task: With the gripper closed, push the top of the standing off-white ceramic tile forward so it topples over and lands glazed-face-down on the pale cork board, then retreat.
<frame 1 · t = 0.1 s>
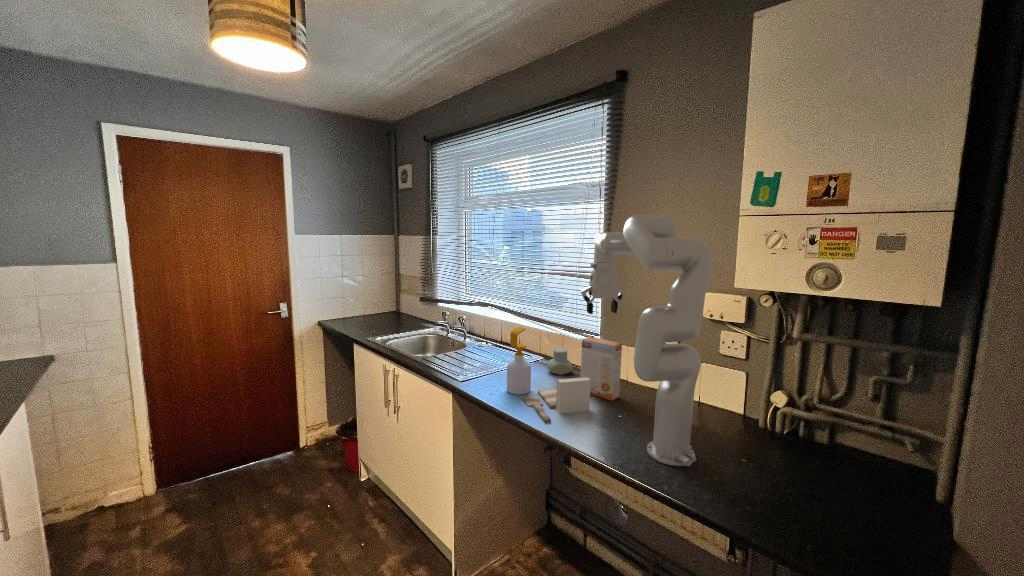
hand: (601, 312, 157), 31 cm above the worktop, fingers open, 9 cm apart
wooden turner: (538, 410, 146), on the worktop
ceramic tile: (572, 410, 146), on the worktop
soap bottle: (518, 391, 163), on the worktop
cracker box: (599, 394, 161), on the worktop
cork board: (562, 398, 156), on the worktop
air freshener: (559, 372, 184), on the worktop
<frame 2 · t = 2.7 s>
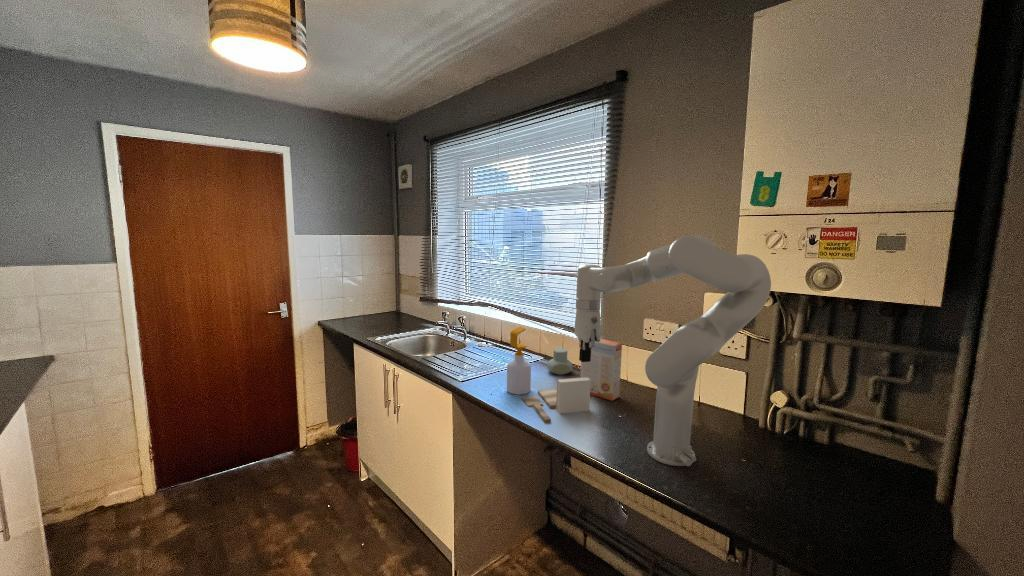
hand: (584, 361, 135), 20 cm above the worktop, fingers closed
nothing on the worktop moved.
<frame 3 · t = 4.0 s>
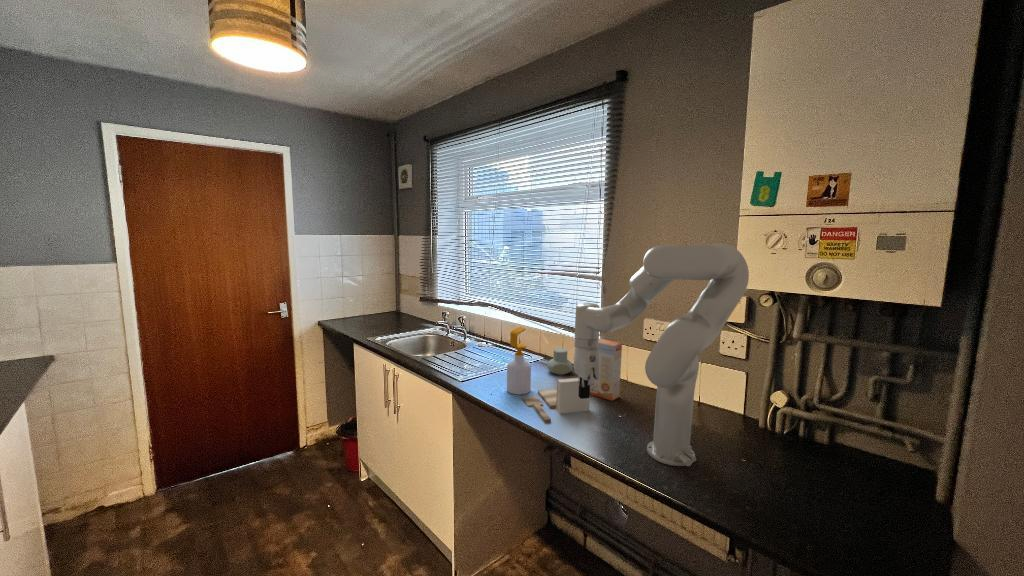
hand: (583, 397, 137), 8 cm above the worktop, fingers closed
nothing on the worktop moved.
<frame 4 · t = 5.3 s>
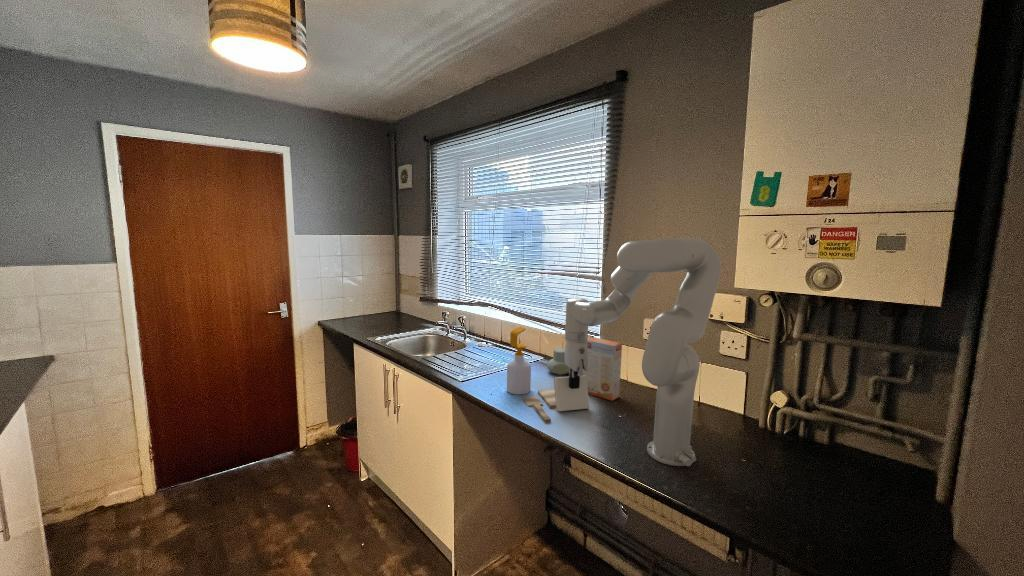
hand: (574, 387, 144), 8 cm above the worktop, fingers closed
ceramic tile: (572, 409, 146), on the worktop, tilted 16°
everything else where it was.
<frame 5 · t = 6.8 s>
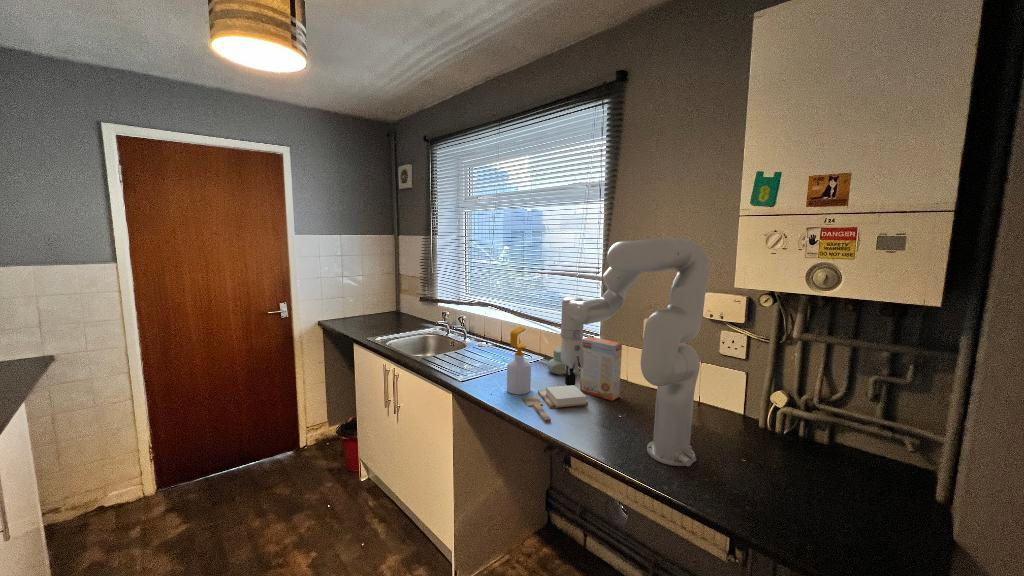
hand: (570, 384, 148), 8 cm above the worktop, fingers closed
ceramic tile: (571, 401, 147), point 2 cm above the worktop, tilted 90°, touching cork board
everything else where it was.
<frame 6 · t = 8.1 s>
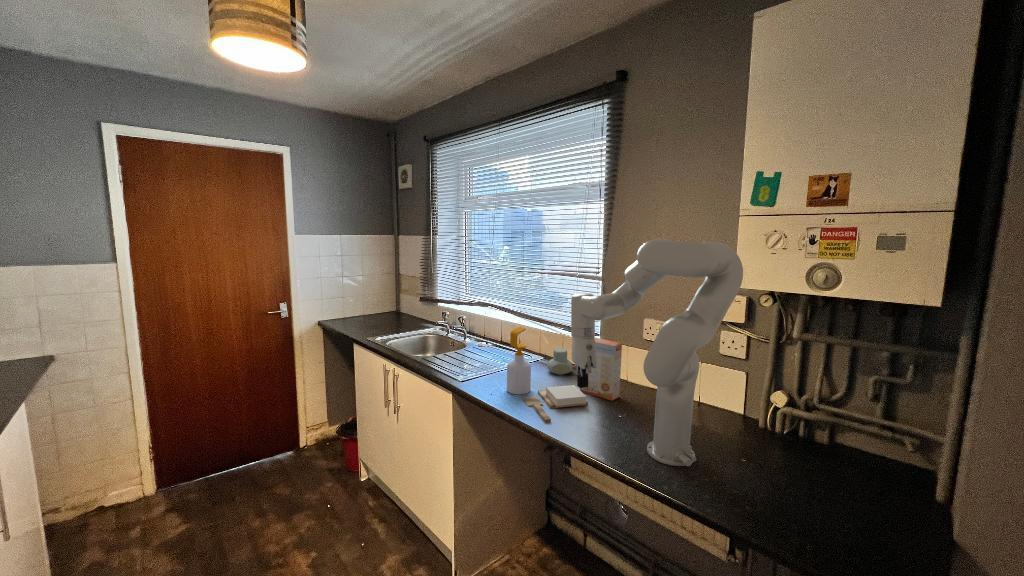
hand: (582, 386, 139), 11 cm above the worktop, fingers closed
nothing on the worktop moved.
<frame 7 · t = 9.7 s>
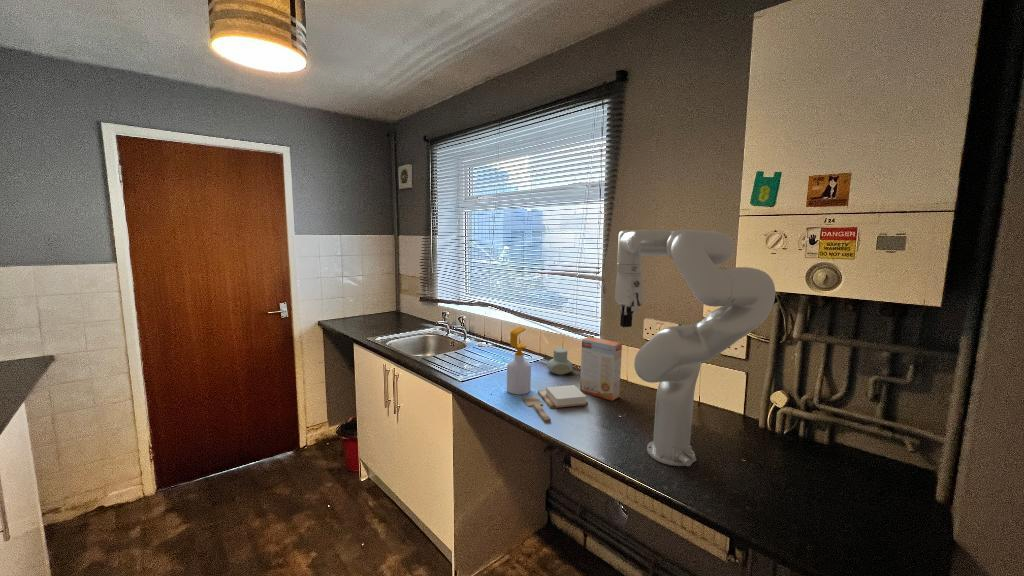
hand: (625, 326, 136), 31 cm above the worktop, fingers closed
nothing on the worktop moved.
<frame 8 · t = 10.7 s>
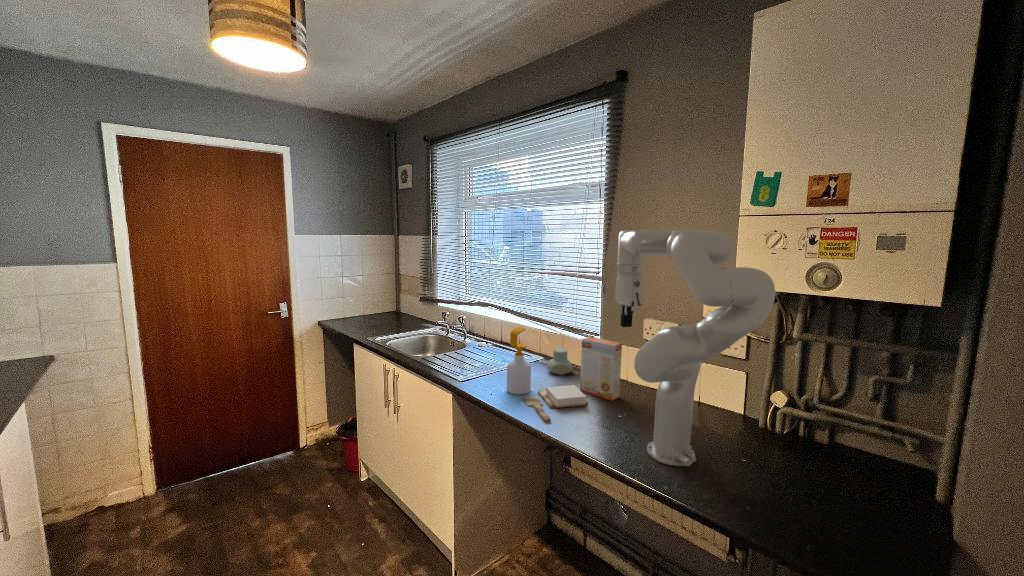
hand: (626, 326, 136), 31 cm above the worktop, fingers closed
nothing on the worktop moved.
at the end: ceramic tile tilted 90°; ceramic tile touching cork board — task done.
